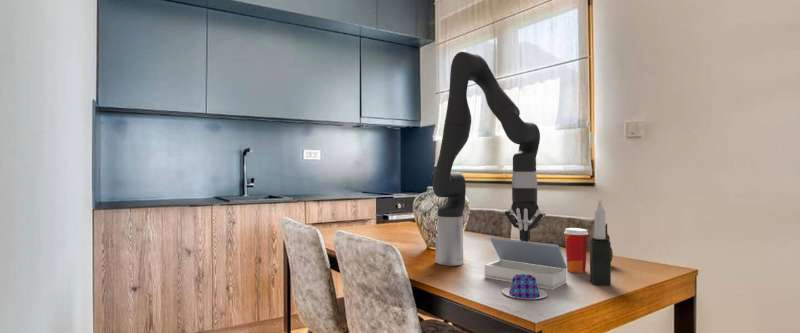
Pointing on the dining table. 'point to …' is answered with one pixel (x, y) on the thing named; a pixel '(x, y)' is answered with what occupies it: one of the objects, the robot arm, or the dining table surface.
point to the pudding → (524, 287)
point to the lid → (529, 252)
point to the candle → (600, 251)
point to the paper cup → (576, 249)
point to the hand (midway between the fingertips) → (525, 242)
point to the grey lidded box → (526, 273)
